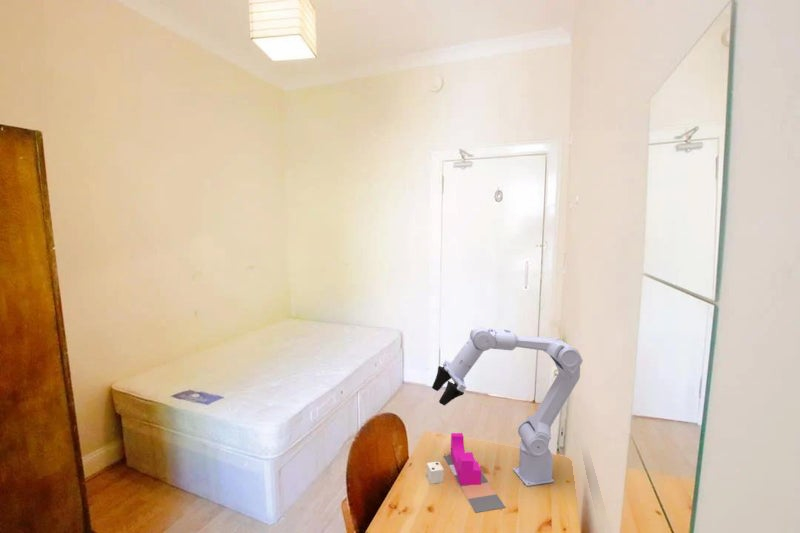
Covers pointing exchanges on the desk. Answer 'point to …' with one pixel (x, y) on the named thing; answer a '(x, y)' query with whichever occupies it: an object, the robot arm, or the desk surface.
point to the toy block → (464, 462)
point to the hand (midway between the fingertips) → (438, 396)
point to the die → (435, 472)
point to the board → (478, 492)
